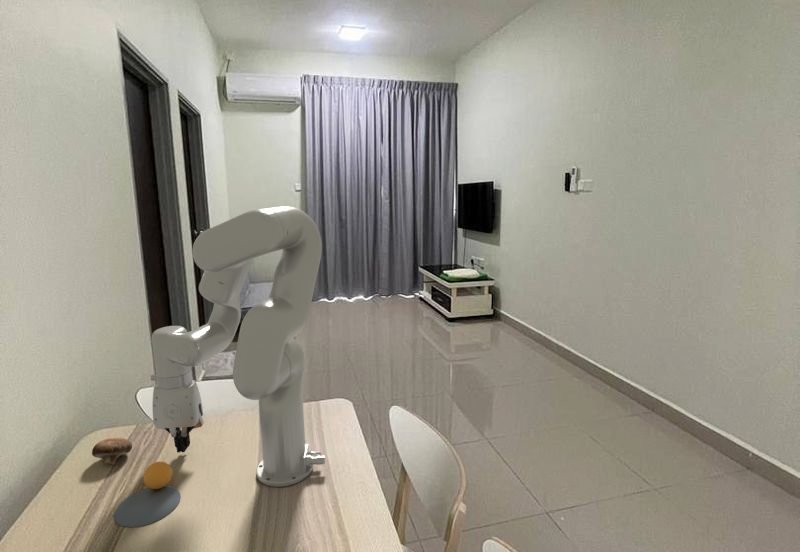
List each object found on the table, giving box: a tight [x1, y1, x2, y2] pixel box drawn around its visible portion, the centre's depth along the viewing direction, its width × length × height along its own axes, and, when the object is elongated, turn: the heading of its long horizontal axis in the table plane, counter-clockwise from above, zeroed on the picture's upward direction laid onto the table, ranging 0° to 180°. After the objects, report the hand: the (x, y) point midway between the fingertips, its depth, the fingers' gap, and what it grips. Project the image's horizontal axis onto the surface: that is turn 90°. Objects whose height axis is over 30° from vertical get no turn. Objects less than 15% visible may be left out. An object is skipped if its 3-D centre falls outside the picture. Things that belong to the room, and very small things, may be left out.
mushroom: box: [91, 437, 133, 466], centre depth 109 cm, size 8×8×6 cm
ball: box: [143, 461, 173, 489], centre depth 99 cm, size 6×6×6 cm
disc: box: [113, 485, 182, 528], centre depth 94 cm, size 12×12×1 cm
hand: (183, 449), depth 111 cm, fingers closed
